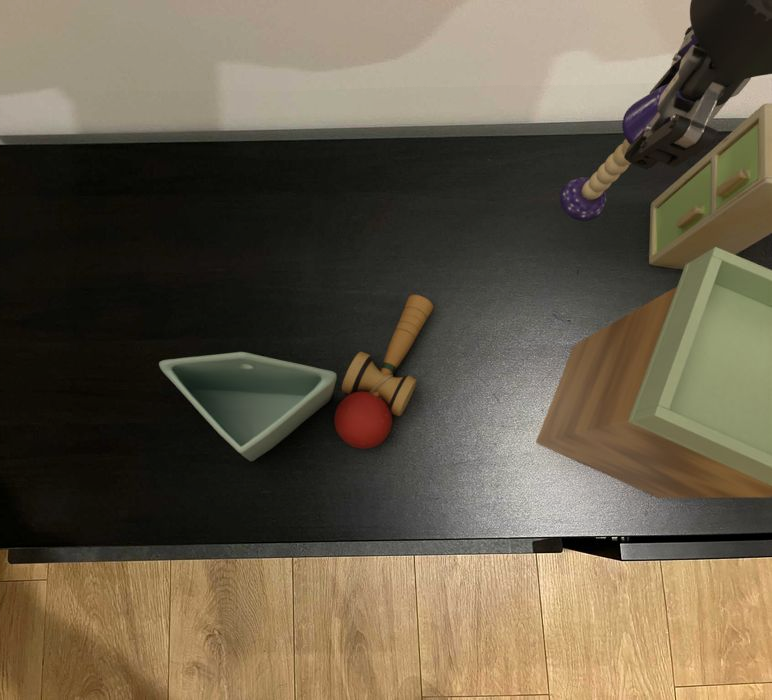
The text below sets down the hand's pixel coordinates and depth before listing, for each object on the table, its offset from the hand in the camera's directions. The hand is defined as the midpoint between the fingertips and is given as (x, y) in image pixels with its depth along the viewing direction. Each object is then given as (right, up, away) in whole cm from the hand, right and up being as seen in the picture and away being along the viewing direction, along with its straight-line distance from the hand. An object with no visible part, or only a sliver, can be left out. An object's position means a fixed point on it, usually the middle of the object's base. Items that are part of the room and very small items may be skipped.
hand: (649, 130), depth 53 cm
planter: (-32, -25, +23) cm, 46 cm away
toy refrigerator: (+16, -4, +27) cm, 32 cm away
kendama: (-18, -19, +24) cm, 35 cm away
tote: (+8, -19, -1) cm, 21 cm away
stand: (+8, -24, +23) cm, 34 cm away
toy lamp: (0, -3, +12) cm, 13 cm away
